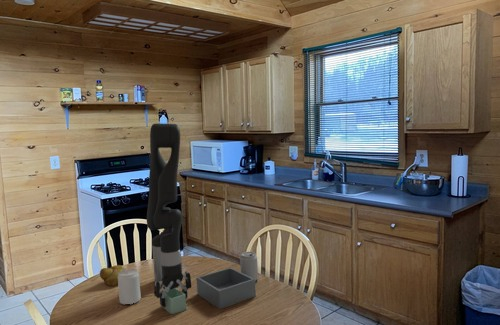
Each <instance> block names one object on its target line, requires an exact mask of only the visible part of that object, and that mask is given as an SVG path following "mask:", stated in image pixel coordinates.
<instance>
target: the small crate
mask: <svg viewBox="0 0 500 325" xmlns="http://www.w3.org/2000/svg"><path fill="white" fill-rule="evenodd" d="M165 303H166V307H162V308H163V309H164V310H166V311H167V312H168V313H169V314H170V315H175V314H178V313H180V312H183V311H186V310H187V298H186V295H185V294H184V293H183V292H182V290H180V289H179V288H173V289H171V290H170V289H169V291H168V293H166V295H165Z"/></svg>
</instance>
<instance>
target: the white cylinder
mask: <svg viewBox="0 0 500 325" xmlns="http://www.w3.org/2000/svg"><path fill="white" fill-rule="evenodd" d="M117 286H118V296H119V300H118V301H119V303H120V304H121V305H125V304H130V305H134V304H136V303H138V302H140V300H141V299H142V298H141V295H142V294H141V282H140V274H139V271H138V269H135V268H126V270H123V271H121V272H119V275H118V285H117ZM133 303H134V304H133Z"/></svg>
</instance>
